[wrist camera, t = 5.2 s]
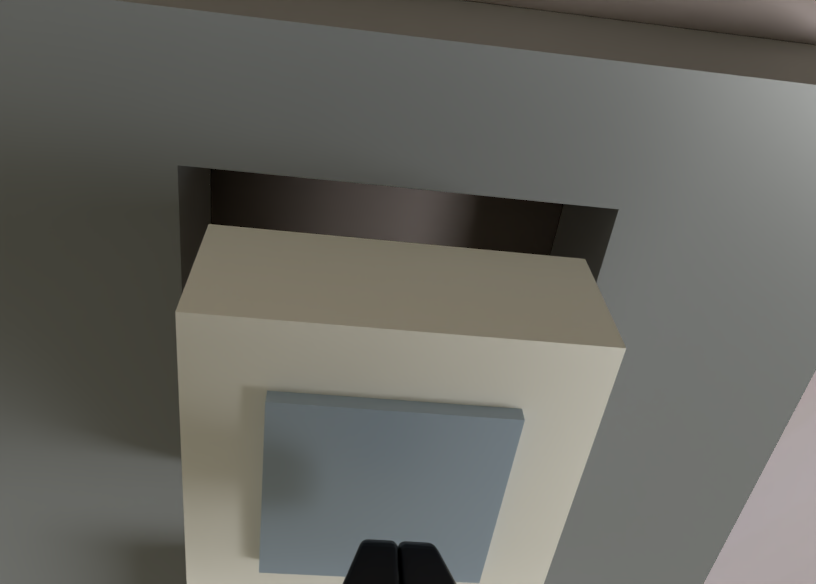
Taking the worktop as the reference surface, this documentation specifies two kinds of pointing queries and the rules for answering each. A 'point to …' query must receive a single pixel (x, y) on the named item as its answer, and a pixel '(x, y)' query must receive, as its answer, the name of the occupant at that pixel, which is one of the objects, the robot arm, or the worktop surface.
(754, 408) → the keypad board
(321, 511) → the key
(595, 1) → the worktop surface
